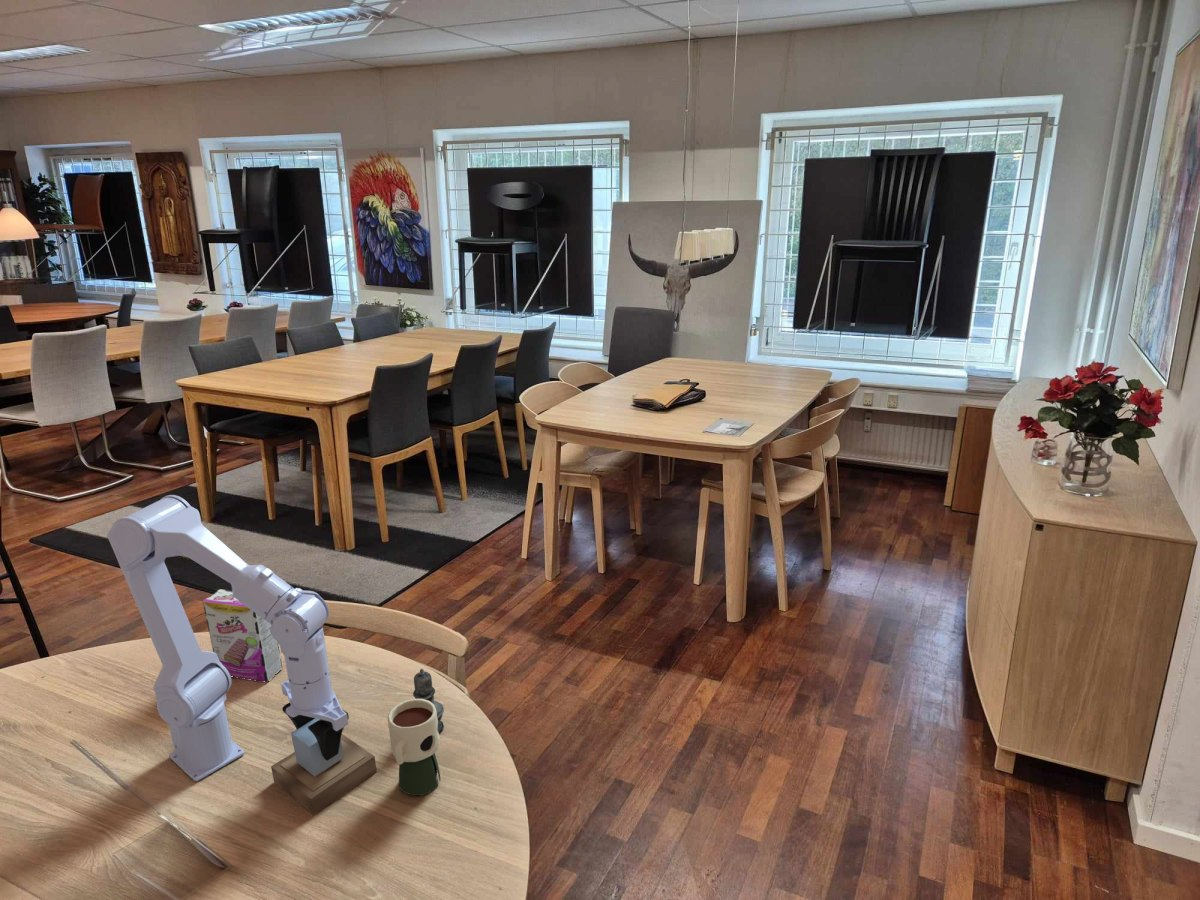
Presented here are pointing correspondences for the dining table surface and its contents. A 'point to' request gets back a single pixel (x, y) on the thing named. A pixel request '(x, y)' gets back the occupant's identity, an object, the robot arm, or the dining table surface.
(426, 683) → the salt shaker
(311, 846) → the dining table surface
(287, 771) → the walnut plinth
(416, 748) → the character mug
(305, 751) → the blue block
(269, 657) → the candy bar box
